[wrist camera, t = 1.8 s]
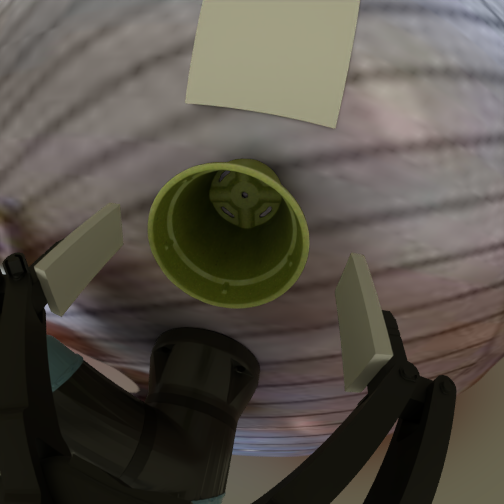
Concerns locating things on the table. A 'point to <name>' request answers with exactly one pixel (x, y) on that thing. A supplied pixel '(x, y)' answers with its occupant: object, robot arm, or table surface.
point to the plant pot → (229, 234)
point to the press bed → (274, 56)
